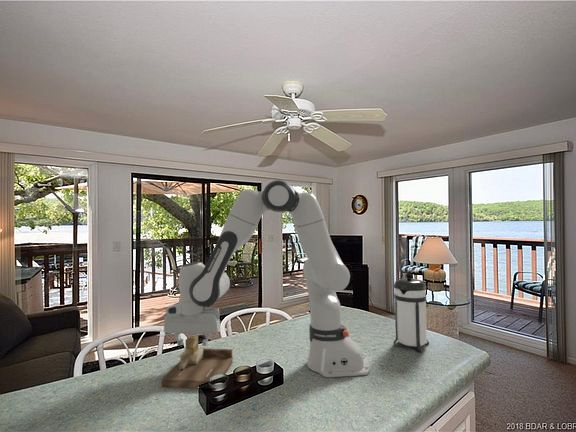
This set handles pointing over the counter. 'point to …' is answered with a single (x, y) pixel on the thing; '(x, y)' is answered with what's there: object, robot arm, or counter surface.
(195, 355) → the marking slider
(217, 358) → the walnut board
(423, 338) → the coffee press
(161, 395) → the counter surface
